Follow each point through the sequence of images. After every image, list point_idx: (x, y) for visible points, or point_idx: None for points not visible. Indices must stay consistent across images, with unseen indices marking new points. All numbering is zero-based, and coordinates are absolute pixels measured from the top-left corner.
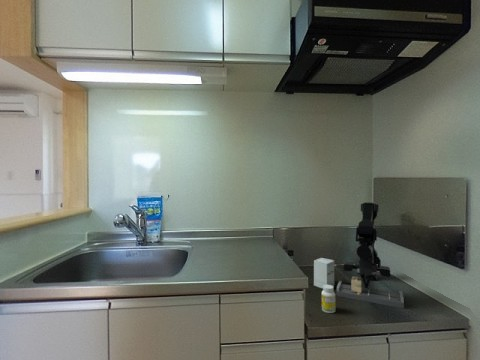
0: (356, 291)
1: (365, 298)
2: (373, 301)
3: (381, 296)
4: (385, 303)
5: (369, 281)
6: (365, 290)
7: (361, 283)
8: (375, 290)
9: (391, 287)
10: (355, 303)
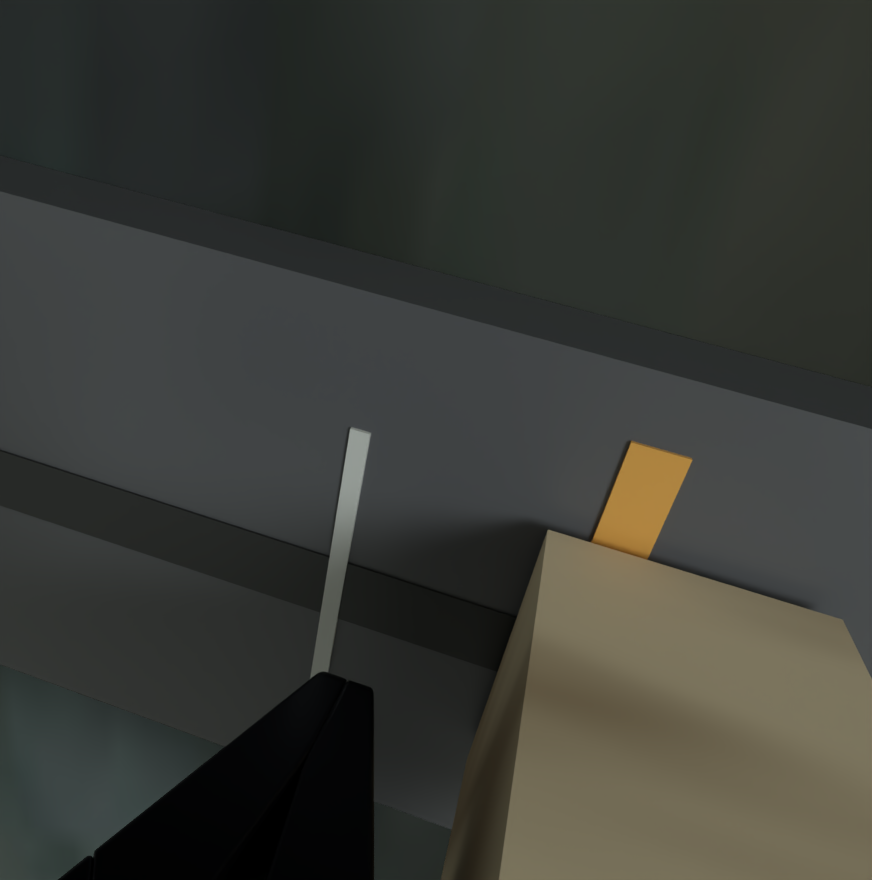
0: (685, 584)
1: (476, 303)
2: (290, 243)
3: (59, 409)
4: (27, 174)
5: (75, 874)
6: (395, 690)
7: (462, 866)
8: (184, 691)
9: (24, 839)
10: (862, 39)
